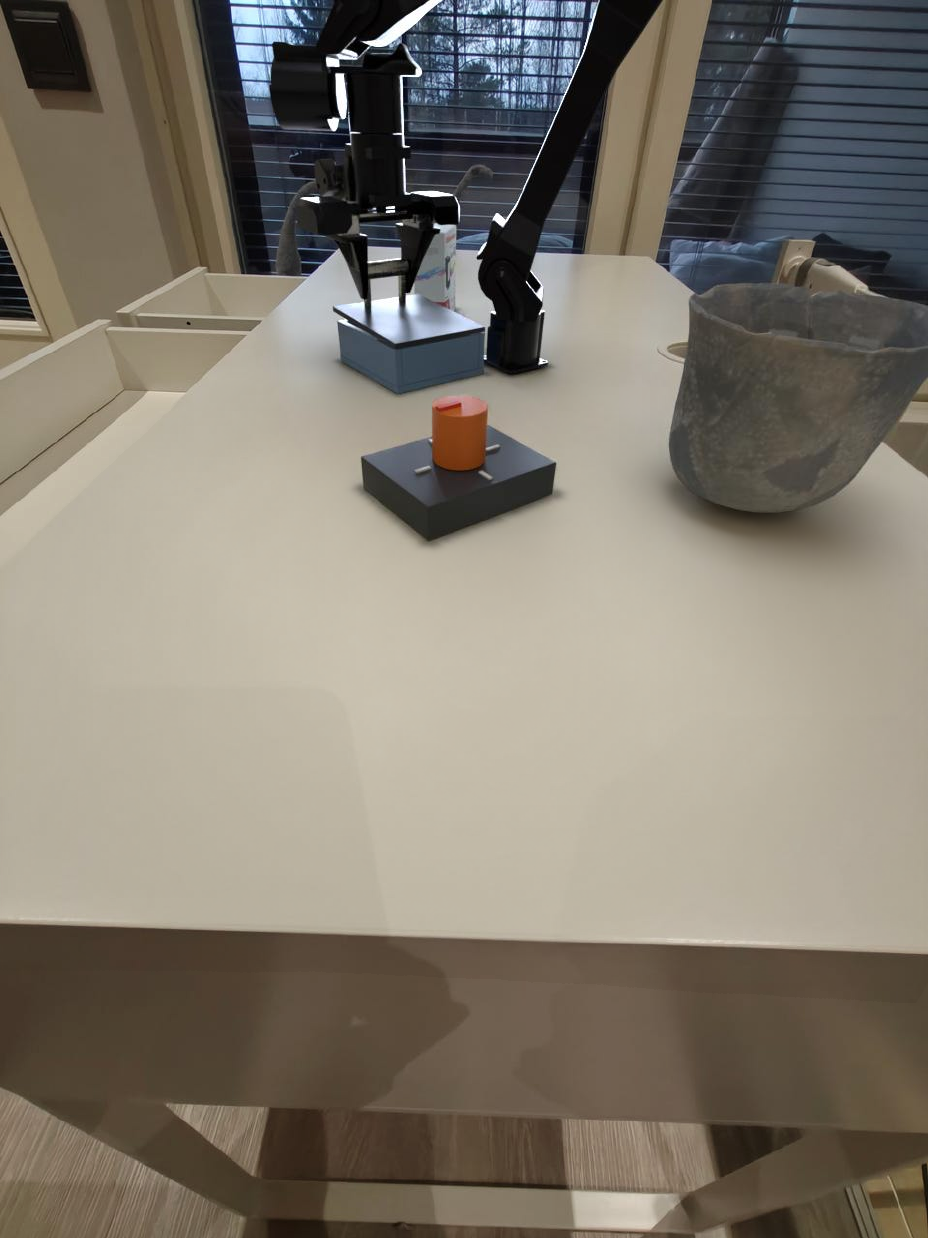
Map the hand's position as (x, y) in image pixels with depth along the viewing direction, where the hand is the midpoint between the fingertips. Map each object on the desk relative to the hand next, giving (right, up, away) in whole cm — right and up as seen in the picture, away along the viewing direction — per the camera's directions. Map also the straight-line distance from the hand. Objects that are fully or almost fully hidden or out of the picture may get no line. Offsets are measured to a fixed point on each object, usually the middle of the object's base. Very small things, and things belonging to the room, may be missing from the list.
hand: (385, 295), depth 73 cm
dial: (+9, -27, -24) cm, 37 cm away
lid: (+3, -4, -2) cm, 5 cm away
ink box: (+5, +8, +21) cm, 23 cm away
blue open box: (+3, -8, +1) cm, 9 cm away
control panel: (+9, -29, -22) cm, 38 cm away
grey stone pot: (+35, -29, -21) cm, 50 cm away
